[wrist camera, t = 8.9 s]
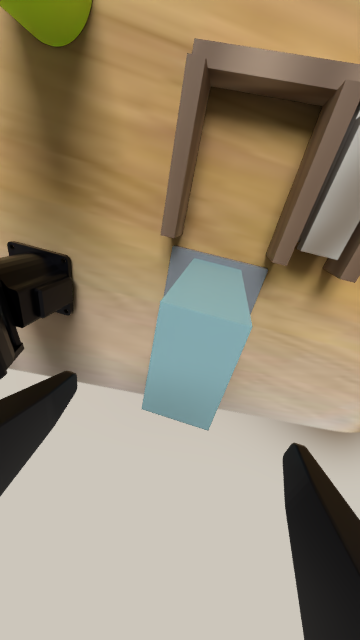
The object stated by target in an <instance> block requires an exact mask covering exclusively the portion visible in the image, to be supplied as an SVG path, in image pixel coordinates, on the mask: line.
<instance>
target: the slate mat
mask: <svg viewBox="0 0 360 640" xmlns="http://www.w3.org/2000/svg"><path fill="white" fill-rule="evenodd" d="M194 258H196V259H200V260H204V261H208V262H212V263H216V264H220V265H224V266H227V267H231V268H235V269H239V270H241V271H242V277H243V282H244V287H245V292H246V297H247V302H248V307H249V312H250V314H251V312H252V309H253V307H254V304H255V302H256V299H257V297H258V294H259V292H260V289H261V287H262V284H263V282H264V279H265V277H266V274H267V272H268V269H267V268H264V267H260V266H256V265H252V264H248V263H243V262H239V261H235V260H231V259H227V258H223V257H219V256H215V255H211V254H207V253H203V252H199V251H195V250H191V249H187V248H183V247H179V246H175V245H174V246H173V247H172V253H171V258H170V264H169V270H168V275H167V281H166V287H165V292H164V296H165V295H166V294H167V292H168V291H169V290H170V288H171V287H172V286H173V285H174V283H175V282H176V281H177V279H178V278H179V277H180V276H181V274H182V273H183V272H184V270H185V269H186V268H187V267H188V265H189V264H190V263H191V261H192V260H193V259H194Z"/></svg>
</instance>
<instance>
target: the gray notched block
mask: <svg viewBox="0 0 360 640" xmlns="http://www.w3.org/2000/svg"><path fill="white" fill-rule="evenodd" d="M359 221H360V104H359V105H358V106H357V108H356V110H355V112H354V115H353V117H352V119H351V122H350V124H349V126H348V128H347V131H346V133H345V135H344V137H343V140H342V142H341V144H340V146H339V149H338V151H337V153H336V156H335V158H334V160H333V162H332V165H331V167H330V169H329V171H328V174H327V176H326V178H325V180H324V183H323V185H322V187H321V190H320V192H319V194H318V196H317V199H316V201H315V203H314V205H313V208H312V210H311V212H310V214H309V217H308V219H307V221H306V224H305V226H304V228H303V230H302V233H301V235H300V237H299V239H298V242H299V244H298V246H297V249H298V250H300V251H303V252H307V253H311V254H315V255H319V256H323V257H327V258H331V259H335V260H338V258H339V256H340V255H341V253H342V251H343V249H344V248H345V246H346V244H347V242H348V240H349V239H350V237H351V235H352V233H353V232H354V230H355V228H356V226H357V224H358V223H359Z"/></svg>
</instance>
